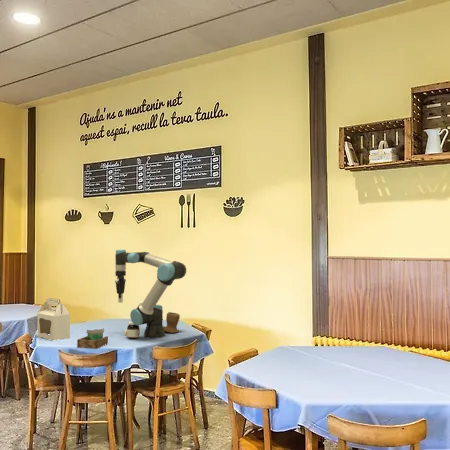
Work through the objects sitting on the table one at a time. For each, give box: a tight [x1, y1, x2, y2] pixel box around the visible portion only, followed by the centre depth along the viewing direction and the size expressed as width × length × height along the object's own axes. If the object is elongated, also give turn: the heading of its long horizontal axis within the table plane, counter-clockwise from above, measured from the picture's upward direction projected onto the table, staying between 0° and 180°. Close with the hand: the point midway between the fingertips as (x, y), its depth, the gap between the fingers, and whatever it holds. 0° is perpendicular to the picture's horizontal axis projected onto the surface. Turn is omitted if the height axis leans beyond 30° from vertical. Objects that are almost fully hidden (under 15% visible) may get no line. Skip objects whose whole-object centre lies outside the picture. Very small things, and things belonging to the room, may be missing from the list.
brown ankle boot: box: [163, 311, 181, 334], centre depth 383 cm, size 15×12×15 cm
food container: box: [85, 327, 105, 341], centre depth 342 cm, size 12×6×10 cm, turn 125°
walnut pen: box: [76, 335, 109, 350], centre depth 337 cm, size 14×15×5 cm
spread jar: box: [123, 320, 141, 340], centre depth 361 cm, size 12×11×12 cm
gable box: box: [36, 297, 71, 341], centre depth 363 cm, size 22×13×28 cm, turn 50°
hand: (120, 302), depth 370 cm, fingers closed
